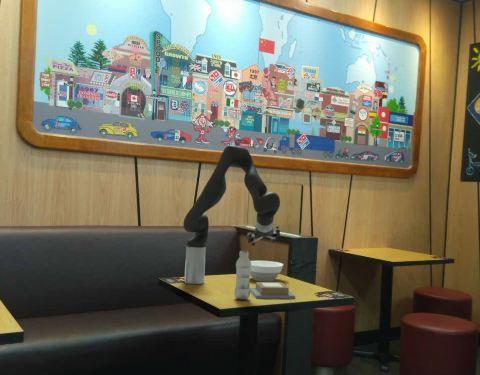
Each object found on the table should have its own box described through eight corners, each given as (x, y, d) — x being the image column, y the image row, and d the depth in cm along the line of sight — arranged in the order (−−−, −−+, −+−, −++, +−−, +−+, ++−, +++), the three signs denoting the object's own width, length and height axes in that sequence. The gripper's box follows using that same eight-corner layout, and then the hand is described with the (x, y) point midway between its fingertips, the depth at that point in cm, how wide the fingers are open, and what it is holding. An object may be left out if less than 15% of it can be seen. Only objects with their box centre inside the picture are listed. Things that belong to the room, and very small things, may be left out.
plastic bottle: (240, 296, 216) (242, 249, 216) (253, 299, 212) (255, 251, 212) (230, 299, 211) (232, 251, 211) (243, 301, 207) (245, 252, 207)
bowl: (268, 285, 246) (269, 267, 246) (236, 279, 257) (237, 262, 257) (289, 280, 261) (290, 264, 261) (258, 274, 273) (259, 259, 273)
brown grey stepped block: (256, 298, 215) (256, 288, 215) (249, 290, 230) (249, 280, 230) (295, 298, 218) (295, 288, 218) (285, 290, 233) (286, 281, 233)
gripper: (279, 214, 216) (276, 233, 229) (246, 219, 214) (245, 238, 228) (283, 229, 212) (280, 247, 225) (249, 234, 210) (248, 252, 223)
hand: (262, 242), depth 226 cm, fingers open, 8 cm apart
